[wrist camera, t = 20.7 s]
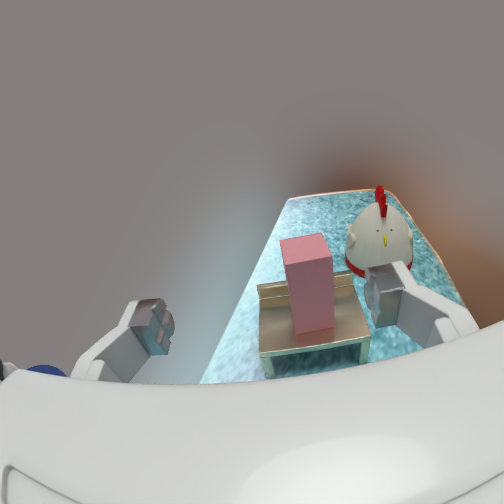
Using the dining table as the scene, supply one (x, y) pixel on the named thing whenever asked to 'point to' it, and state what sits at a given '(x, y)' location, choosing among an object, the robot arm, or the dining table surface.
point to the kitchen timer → (378, 237)
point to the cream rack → (287, 342)
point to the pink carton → (309, 282)
